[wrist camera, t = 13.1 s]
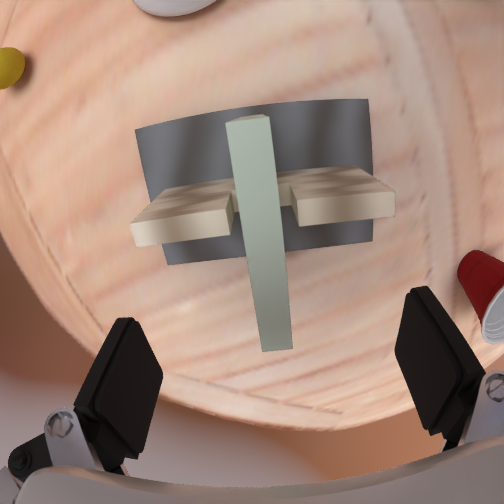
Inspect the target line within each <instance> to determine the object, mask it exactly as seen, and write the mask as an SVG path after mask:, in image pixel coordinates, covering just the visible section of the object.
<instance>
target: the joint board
mask: <svg viewBox="0 0 504 504" xmlns="http://www.w3.org/2000/svg"><path fill="white" fill-rule="evenodd" d="M260 114H263V115H265V116H268V117H269V120H270V128H271V135H272V143H273V151H274V159H275V167H276V176H277V184H278V193H279V202H280V211H281V221H282V230H283V240H284V250H285V252H286V251H295V250H303V249H312V248H320V247H329V246H337V245H345V244H354V243H362V242H370V241H372V238H373V219H374V218H384V217H394V215H395V191H394V190H393V189H391V188H390V187H388V186H387V185H385V184H384V183H382V182H381V181H379V180H378V179H376V178H375V177H373V162H372V141H371V126H370V114H369V103H368V99H333V100H312V101H297V102H286V103H275V104H266V105H258V106H250V107H243V108H236V109H229V110H223V111H217V112H211V113H206V114H201V115H195V116H190V117H186V118H181V119H176V120H172V121H168V122H163V123H159V124H155V125H151V126H147V127H143V128H140V129H136V130H135V134H136V139H137V144H138V149H139V153H140V158H141V163H142V167H143V172H144V176H145V181H146V185H147V189H148V193H149V197H150V201H151V203H150V204H149V205H148V206H147V207H146V208H145V209H144V210H143V211H142V212H141V213H140V214H139V215H138V216H137V217H136V218H135V219H134V220H133V221H132V222H131V223H130V227H131V230H132V233H133V237H134V240H135V243H136V246H137V247H143V246H150V245H157V244H162V247H163V250H164V254H165V257H166V260H167V264H168V265H174V264H183V263H192V262H200V261H209V260H218V259H226V258H235V257H244V256H246V250H245V244H244V238H243V231H242V225H241V219H240V213H239V207H238V200H237V194H236V188H235V181H234V175H233V169H232V163H231V156H230V150H229V143H228V137H227V131H226V124H225V123H226V122H229V121H232V120H234V119H237V118H240V117H244V116H252V115H260Z"/></svg>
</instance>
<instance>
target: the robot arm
mask: <svg viewBox="0 0 504 504" xmlns="http://www.w3.org/2000/svg"><path fill="white" fill-rule="evenodd" d="M395 356H396V359H397V361H398V363H399V366H400V368H401V371H402V373H403V376H404V378H405V381H406V383H407V386H408V388H409V391H410V393H411V396H412V399H413V401H414V404H415V406H416V409H417V412H418V415H419V417H420V420H421V423H422V425H423V428H424V429H425V430H427V429H428V431H429V434H430V436H432V435H434V434H437V433H440V432H442V435H443V438H444V441H443V444H442V446H441V448H440V451H439V453H438V454H436V455H433V456H430V457H427V458H424V459H421V460H418V461H414V462H411V463H407V464H404V465H400V466H397V467H393V468H389V469H386V470H381V471H377V472H373V473H369V474H364V475H359V476H354V477H349V478H344V479H338V480H331V481H325V482H318V483H309V484H300V485H289V486H274V487H211V486H194V485H184V484H174V483H167V482H159V481H153V480H147V479H140V478H134V477H130V475H129V473H128V471H127V469H126V468H125V466H124V464H123V461H124V458H125V457H126V458H131V459H138V456H139V453H142V452H143V450H144V446H145V442H146V438H147V435H148V431H149V427H150V423H151V419H152V416H153V412H154V408H155V405H156V401H157V398H158V394H159V391H160V387H161V384H162V380H163V371H162V369H161V367H160V365H159V363H158V361H157V359H156V357H155V355H154V353H153V351H152V349H151V347H150V345H149V343H148V340H147V338H146V336H145V334H144V332H143V330H142V328H141V325H140V323H139V322H138V321H135V319H134V318H132V317H128V318H117V319H116V321H115V323H114V324H113V326H112V328H111V330H110V332H109V334H108V336H107V337H106V339H105V341H104V343H103V345H102V347H101V349H100V351H99V353H98V355H97V357H96V359H95V361H94V363H93V365H92V367H91V369H90V371H89V373H88V375H87V377H86V379H85V381H84V383H83V385H82V387H81V390H80V392H79V394H78V396H77V398H76V400H75V402H74V406H75V408H74V410H71V409H69V408H60V409H57V410H55V411H53V412H52V413H51V414H50V415H49V416H48V417H47V420H46V422H45V425H44V433H43V434H41V435H39V436H37V437H36V438H34V439H32V440H30V441H28V442H26V443H25V444H22V445H20V446H19V447H17V448H16V449H14V450H13V451H12V452H11V454H10V456H9V459H8V468H7V467H6V466H4V467H3V468H2V469H1V470H0V504H504V371H502V370H492V371H490V372H488V373H486V372H485V371H484V369H483V367H482V366H481V364H480V362H479V361H478V359H477V357H476V356H475V354H474V352H473V351H472V349H471V348H470V346H469V344H468V343H467V341H466V340H465V338H464V337H463V335H462V334H461V332H460V331H459V329H458V328H457V326H456V325H455V323H454V322H453V321H452V319H451V318H450V316H449V315H448V313H447V312H446V311H445V309H444V308H443V306H442V305H441V304H440V302H439V301H438V299H437V298H436V297H435V295H434V294H433V292H432V291H431V290H430V288H429V287H428V286H421V287H416V288H412V289H411V290H410V293H407V294H406V298H405V303H404V308H403V313H402V318H401V323H400V328H399V332H398V336H397V341H396V345H395Z"/></svg>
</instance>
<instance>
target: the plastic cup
mask: <svg viewBox="0 0 504 504" xmlns="http://www.w3.org/2000/svg"><path fill="white" fill-rule="evenodd" d="M458 278H459V281H460V283H461V285H462V286H463V288H464V290H465V292H466V294H467V296H468V298H469V300H470V302H471V303H472V305H473V307H474V309H475V311H476V313H477V315H478V318H479V320H480V324H481V333H482V336H483V338H484V340H485V342H487V343H490V344H497V343H502V342H504V262H502V261H500V260H498V259H496V258H495V257H493V256H492V257H491V256H490V255H488V254H486V253H484V252H482V251H479V250H473V251H472V252H470V253H468V254H467V255H466V256H465V257H464V258H463V260H462V261H461V263H460V265H459V268H458Z"/></svg>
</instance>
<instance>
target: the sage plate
mask: <svg viewBox="0 0 504 504" xmlns="http://www.w3.org/2000/svg"><path fill="white" fill-rule="evenodd" d="M225 124H226V131H227V137H228V143H229V150H230V156H231V163H232V169H233V175H234V181H235V188H236V194H237V200H238V207H239V213H240V219H241V225H242V231H243V238H244V244H245V250H246V256H247V262H248V268H249V274H250V281H251V287H252V293H253V299H254V305H255V311H256V317H257V323H258V329H259V335H260V341H261V347H262V352H267V351H277V350H287V349H293V345H292V331H291V318H290V306H289V294H288V282H287V271H286V261H285V250H284V240H283V230H282V221H281V211H280V202H279V193H278V184H277V176H276V167H275V159H274V151H273V143H272V135H271V128H270V120H269V117H268V116H265V115H263V114H260V115H252V116H244V117H240V118H237V119H234V120H232V121H229V122H226V123H225Z"/></svg>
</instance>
